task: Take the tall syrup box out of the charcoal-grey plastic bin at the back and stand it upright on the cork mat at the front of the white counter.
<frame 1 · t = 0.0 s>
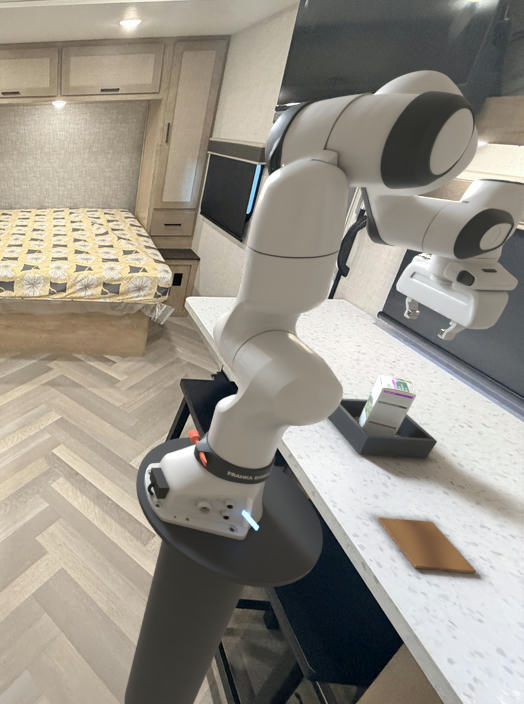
hand: (426, 327, 85), 26 cm above the worktop, tool pointing down, fingers open, 8 cm apart
syrup box: (371, 435, 93), resting in bin
bin: (371, 434, 92), on the worktop
mat: (422, 544, 69), on the worktop
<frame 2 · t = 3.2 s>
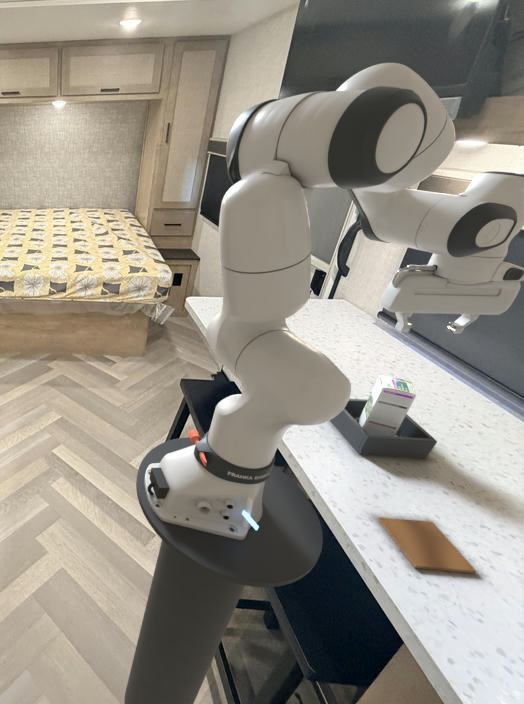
hand: (427, 331, 79), 28 cm above the worktop, tool pointing down, fingers open, 8 cm apart
nothing on the worktop moved.
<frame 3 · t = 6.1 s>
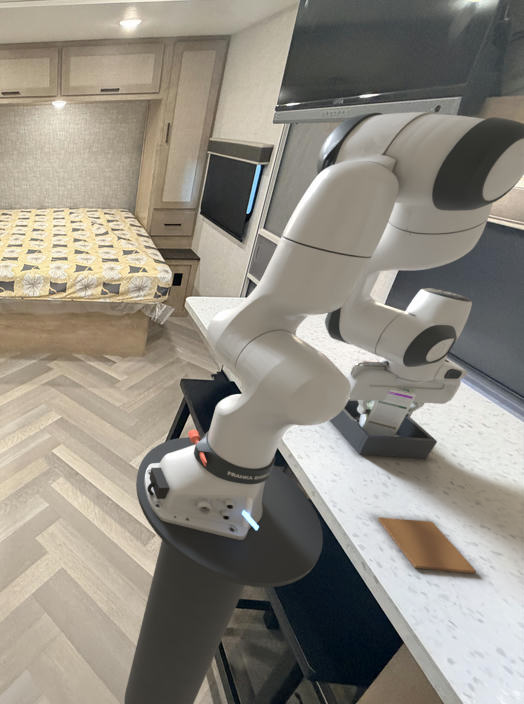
hand: (382, 413, 89), 6 cm above the worktop, tool pointing down, fingers closed on syrup box, 7 cm apart
syrup box: (371, 435, 93), resting in bin, touching gripper
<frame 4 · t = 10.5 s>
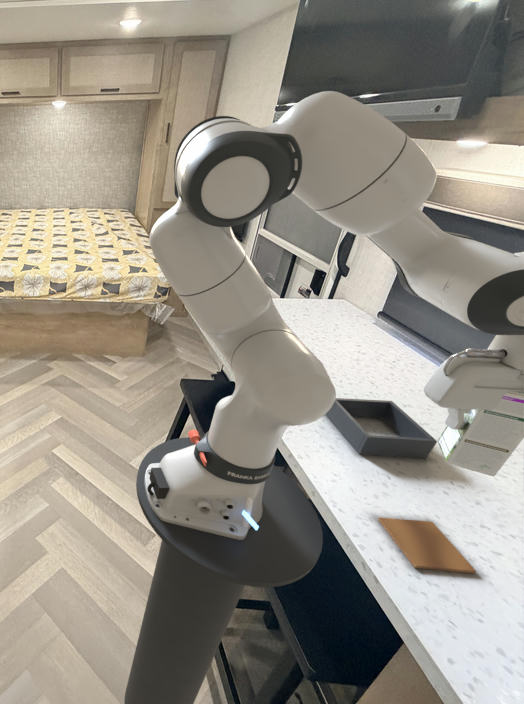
hand: (484, 428, 60), 24 cm above the worktop, tool pointing down, fingers closed on syrup box, 7 cm apart
syrup box: (462, 459, 63), point 17 cm above the worktop, touching gripper
when the fingers open (7 cm above the worktop, at t = 15.2 s): syrup box stays where it is, resting on mat.
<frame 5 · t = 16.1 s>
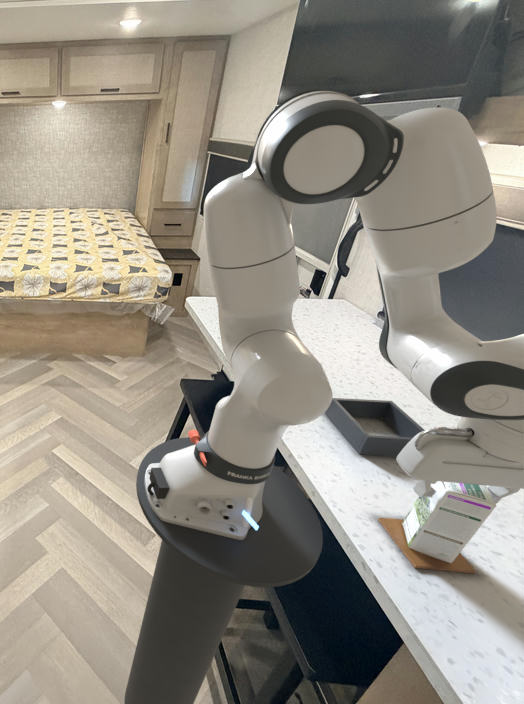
hand: (453, 496, 63), 12 cm above the worktop, tool pointing down, fingers open, 8 cm apart
syrup box: (424, 543, 69), resting on mat
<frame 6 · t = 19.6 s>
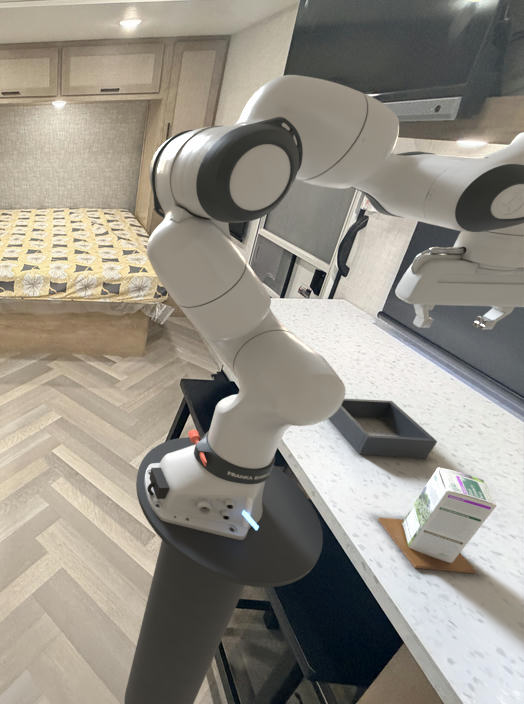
hand: (450, 327, 67), 34 cm above the worktop, tool pointing down, fingers open, 8 cm apart
nothing on the worktop moved.
at the end: syrup box 0.0 cm off-centre on the mat, point 0.4 cm above the mat's base; syrup box tilted 0°; syrup box touching mat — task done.
